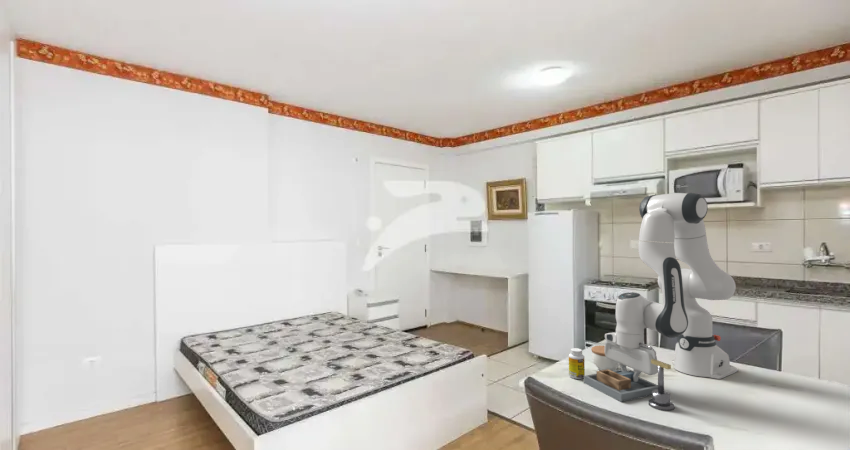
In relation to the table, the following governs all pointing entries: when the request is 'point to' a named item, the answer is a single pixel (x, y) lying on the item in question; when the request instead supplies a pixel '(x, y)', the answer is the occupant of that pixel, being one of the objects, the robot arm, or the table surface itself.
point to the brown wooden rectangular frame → (616, 378)
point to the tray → (635, 392)
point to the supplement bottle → (576, 364)
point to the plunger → (661, 390)
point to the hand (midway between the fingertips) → (630, 378)
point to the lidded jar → (603, 359)
